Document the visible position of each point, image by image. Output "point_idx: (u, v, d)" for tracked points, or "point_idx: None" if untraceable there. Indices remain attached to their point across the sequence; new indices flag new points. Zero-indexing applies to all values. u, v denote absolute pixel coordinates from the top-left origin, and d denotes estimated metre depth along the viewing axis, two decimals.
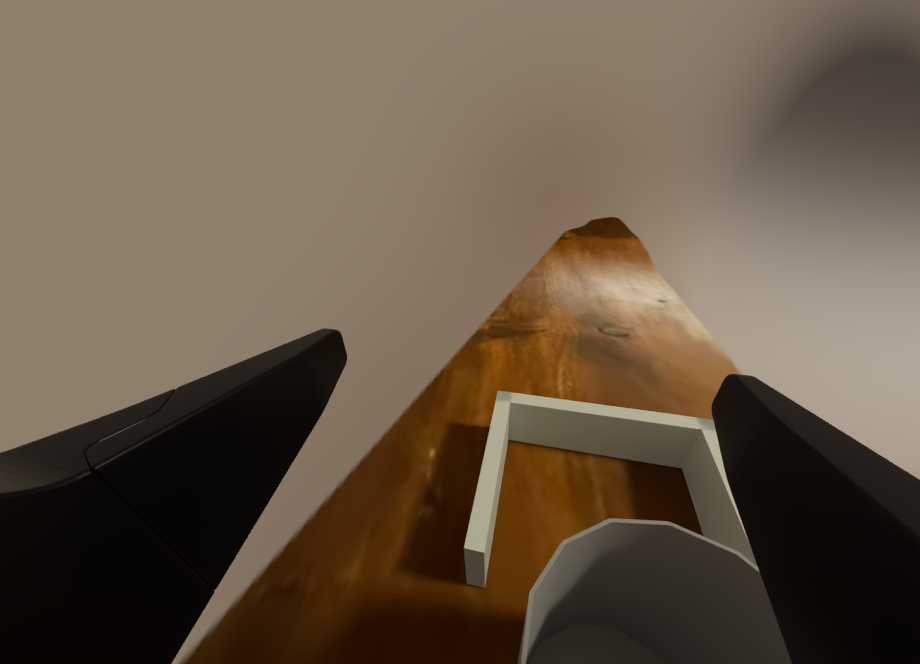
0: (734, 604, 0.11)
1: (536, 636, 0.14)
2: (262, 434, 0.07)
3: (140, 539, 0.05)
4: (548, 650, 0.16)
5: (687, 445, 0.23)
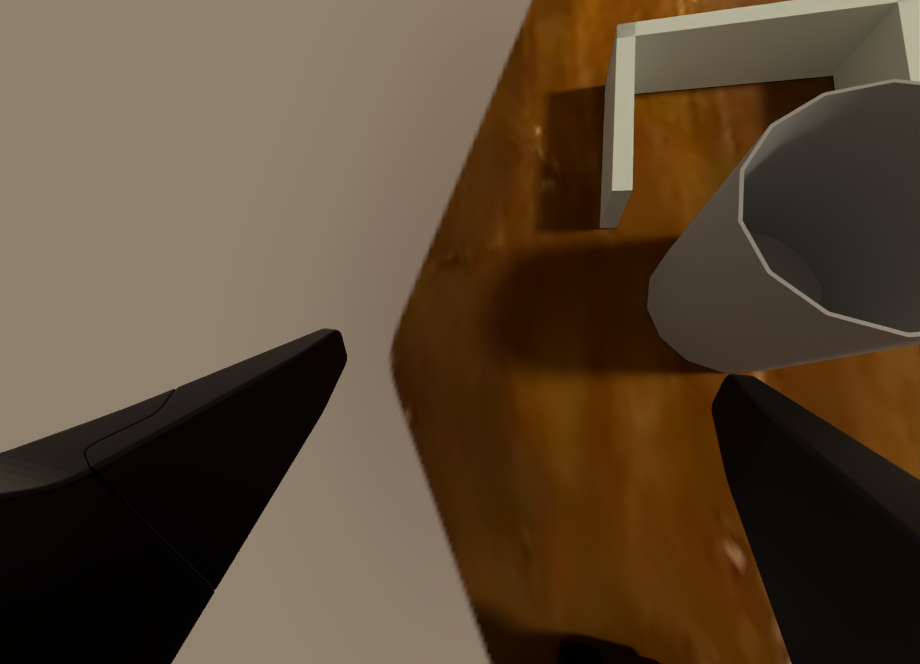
0: (919, 152, 0.12)
1: None
2: (262, 434, 0.07)
3: (141, 539, 0.05)
4: None
5: (860, 36, 0.19)
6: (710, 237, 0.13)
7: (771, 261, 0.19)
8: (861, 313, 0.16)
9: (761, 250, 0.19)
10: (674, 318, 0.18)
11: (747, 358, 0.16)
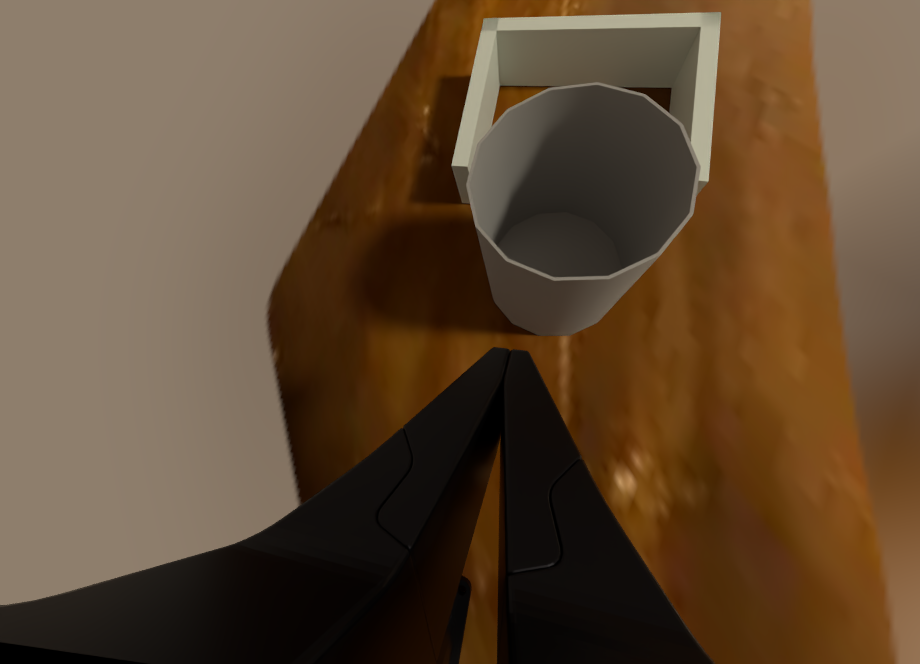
0: (638, 147, 0.15)
1: (504, 211, 0.20)
2: None
3: (418, 622, 0.04)
4: (518, 229, 0.23)
5: (681, 54, 0.22)
6: None
7: (588, 242, 0.22)
8: None
9: (582, 232, 0.22)
10: None
11: (528, 315, 0.18)
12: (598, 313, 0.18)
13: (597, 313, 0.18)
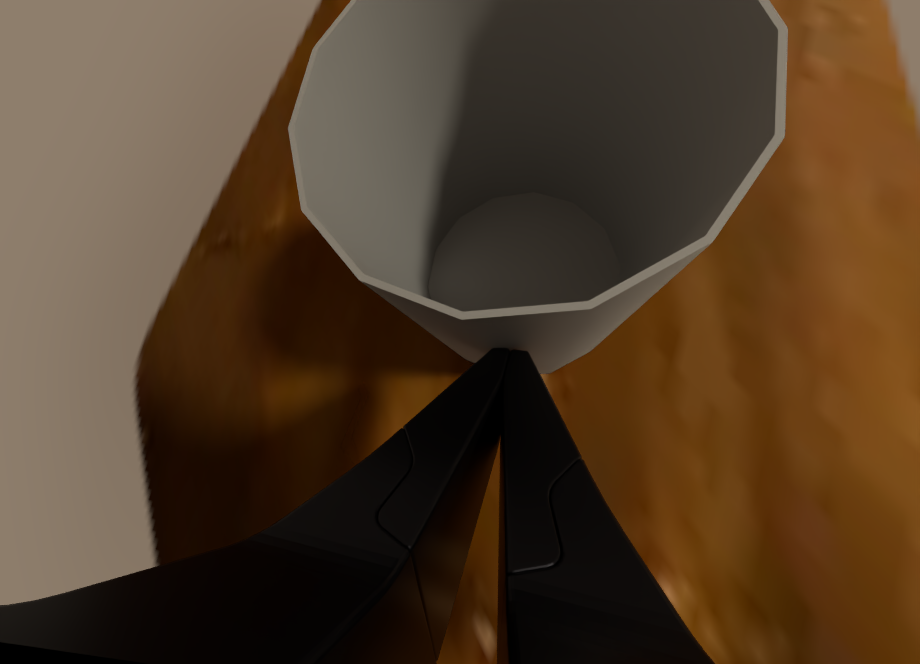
0: (633, 46, 0.08)
1: (434, 195, 0.13)
2: None
3: (418, 622, 0.04)
4: (466, 222, 0.16)
5: None
6: None
7: (568, 233, 0.15)
8: None
9: (558, 219, 0.15)
10: None
11: (474, 355, 0.11)
12: (587, 346, 0.11)
13: (585, 347, 0.11)
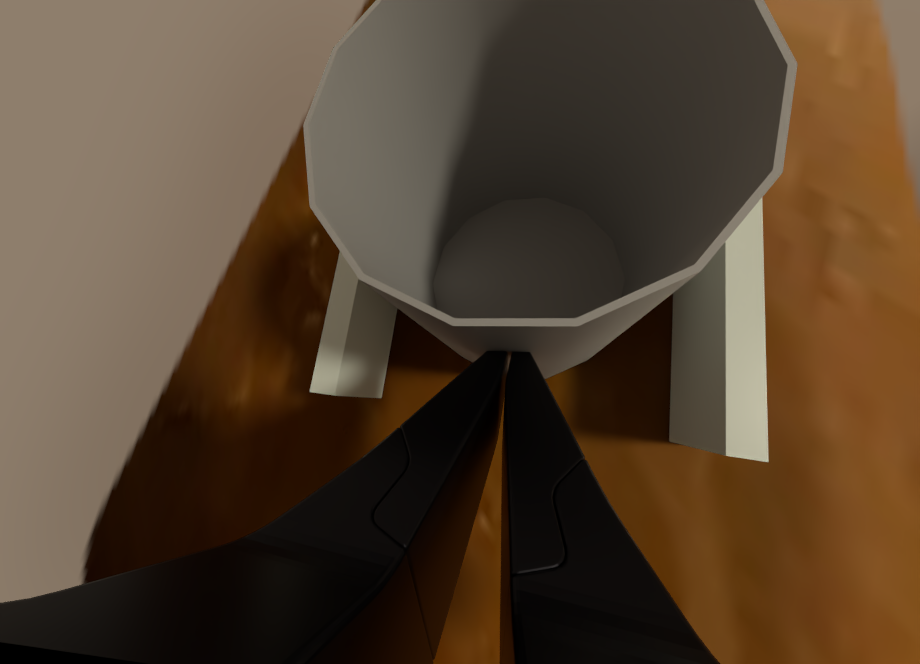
0: (650, 64, 0.08)
1: (445, 194, 0.14)
2: None
3: (414, 621, 0.04)
4: (476, 222, 0.16)
5: None
6: None
7: (575, 242, 0.15)
8: None
9: (567, 227, 0.15)
10: None
11: (471, 357, 0.12)
12: (583, 356, 0.11)
13: (581, 356, 0.11)
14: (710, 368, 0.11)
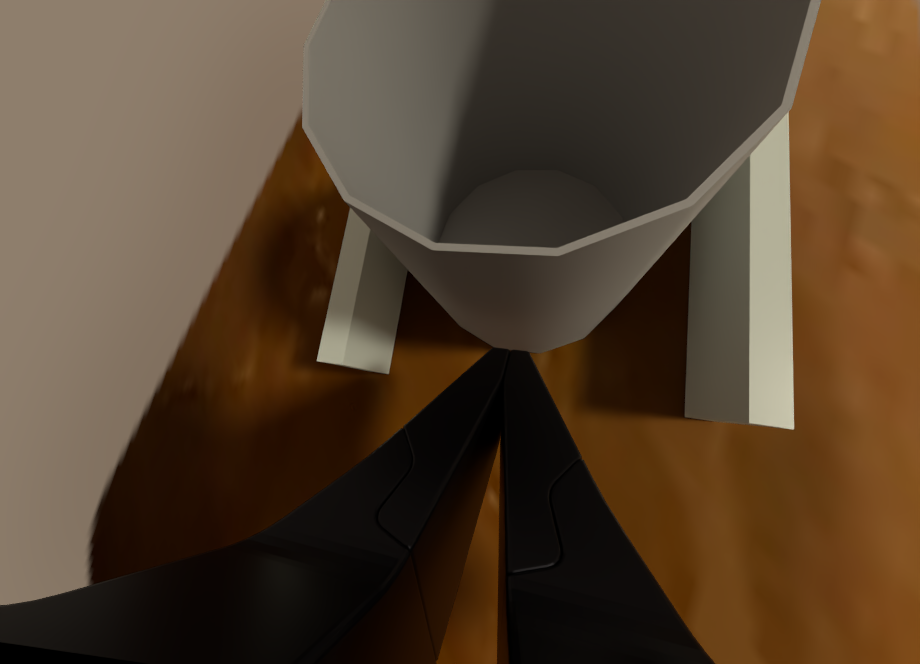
0: (672, 13, 0.08)
1: (454, 155, 0.13)
2: None
3: (418, 621, 0.04)
4: (485, 191, 0.16)
5: None
6: None
7: (584, 217, 0.15)
8: None
9: (577, 201, 0.15)
10: None
11: (463, 318, 0.11)
12: (577, 326, 0.11)
13: (575, 326, 0.11)
14: (731, 336, 0.10)
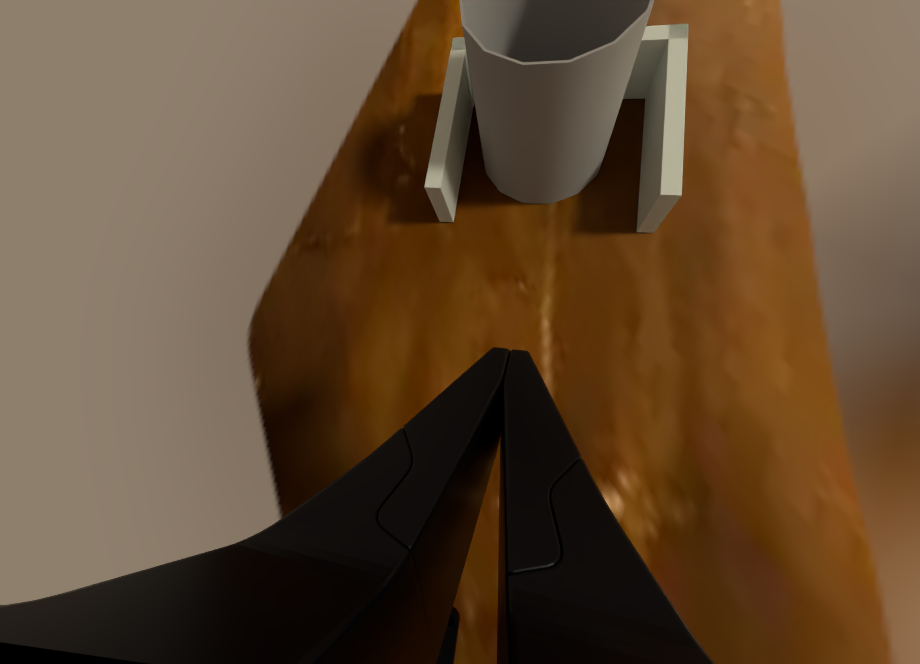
0: None
1: None
2: None
3: (418, 621, 0.04)
4: None
5: (652, 66, 0.22)
6: None
7: None
8: (602, 143, 0.20)
9: None
10: None
11: (510, 160, 0.20)
12: (574, 162, 0.20)
13: (573, 161, 0.20)
14: (656, 164, 0.19)
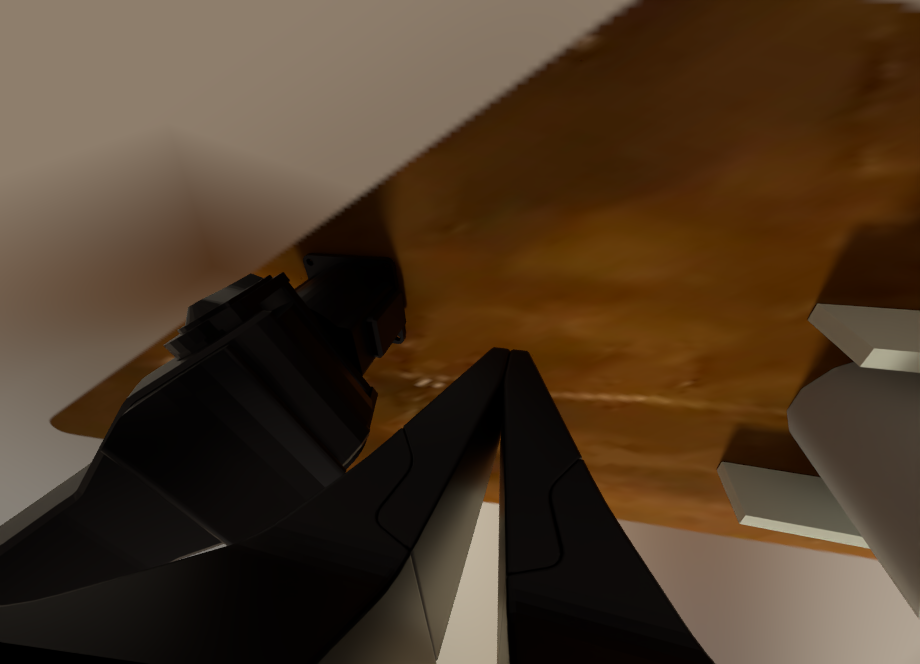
0: None
1: None
2: None
3: (418, 621, 0.04)
4: None
5: None
6: None
7: None
8: None
9: None
10: None
11: (860, 430, 0.17)
12: (821, 470, 0.19)
13: (822, 471, 0.19)
14: (784, 510, 0.22)
